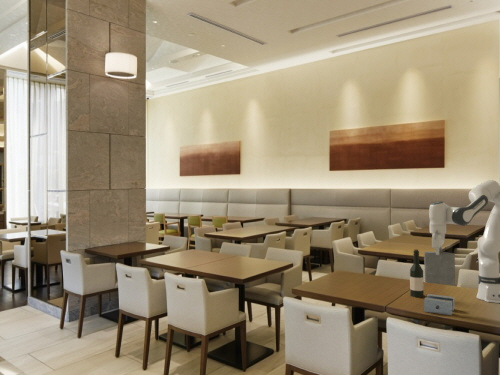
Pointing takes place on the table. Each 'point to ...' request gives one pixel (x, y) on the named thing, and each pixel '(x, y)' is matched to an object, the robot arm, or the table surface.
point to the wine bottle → (416, 277)
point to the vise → (439, 304)
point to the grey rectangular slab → (439, 267)
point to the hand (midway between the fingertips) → (438, 253)
